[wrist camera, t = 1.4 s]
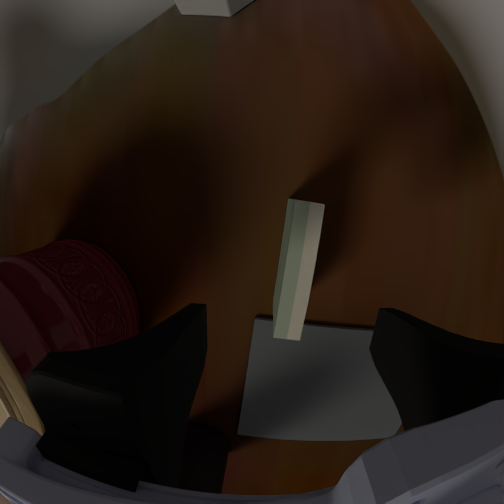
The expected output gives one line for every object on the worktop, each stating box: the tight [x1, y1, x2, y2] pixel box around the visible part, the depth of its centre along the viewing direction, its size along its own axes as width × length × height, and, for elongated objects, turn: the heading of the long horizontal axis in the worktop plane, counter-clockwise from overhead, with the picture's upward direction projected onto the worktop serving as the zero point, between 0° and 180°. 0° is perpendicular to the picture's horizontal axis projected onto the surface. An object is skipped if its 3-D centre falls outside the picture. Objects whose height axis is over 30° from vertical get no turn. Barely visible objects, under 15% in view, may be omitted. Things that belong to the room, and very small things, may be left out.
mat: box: [237, 317, 402, 441], centre depth 23 cm, size 18×14×1 cm
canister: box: [0, 239, 141, 436], centre depth 15 cm, size 13×13×18 cm
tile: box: [273, 199, 325, 341], centre depth 18 cm, size 2×8×6 cm, turn 173°
